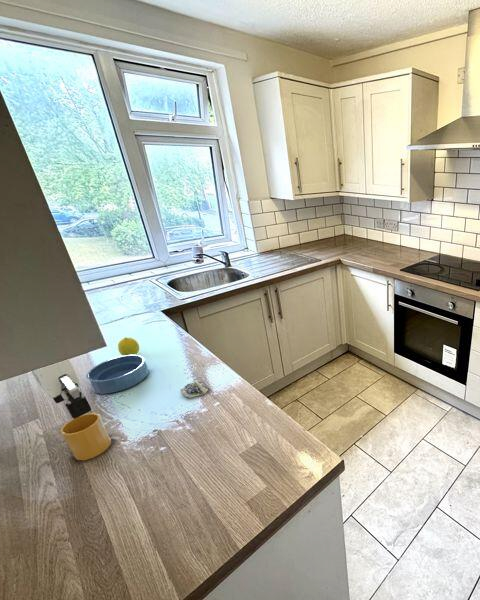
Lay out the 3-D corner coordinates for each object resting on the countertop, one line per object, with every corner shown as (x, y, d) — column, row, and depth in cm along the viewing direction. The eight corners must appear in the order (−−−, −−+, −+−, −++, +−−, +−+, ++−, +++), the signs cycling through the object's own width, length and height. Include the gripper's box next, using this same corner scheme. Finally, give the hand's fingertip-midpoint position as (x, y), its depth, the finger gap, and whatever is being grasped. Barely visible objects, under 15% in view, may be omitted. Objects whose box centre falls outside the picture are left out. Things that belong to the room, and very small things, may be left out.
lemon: (145, 355, 116) (138, 336, 113) (127, 363, 112) (119, 343, 109) (137, 351, 119) (130, 332, 116) (119, 358, 115) (111, 339, 111)
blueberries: (194, 381, 103) (192, 376, 103) (215, 385, 101) (213, 380, 101) (175, 395, 97) (173, 390, 97) (197, 400, 95) (196, 394, 95)
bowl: (105, 401, 95) (98, 387, 93) (84, 385, 101) (78, 372, 99) (157, 375, 106) (152, 362, 104) (136, 362, 112) (131, 350, 110)
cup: (81, 465, 75) (67, 439, 72) (69, 452, 78) (55, 427, 75) (116, 444, 81) (104, 419, 77) (104, 433, 84) (92, 409, 81)
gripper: (0, 339, 68) (37, 403, 75) (28, 362, 60) (67, 432, 67) (48, 324, 74) (79, 385, 81) (79, 344, 66) (110, 409, 73)
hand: (73, 406), depth 74 cm, fingers open, 9 cm apart
